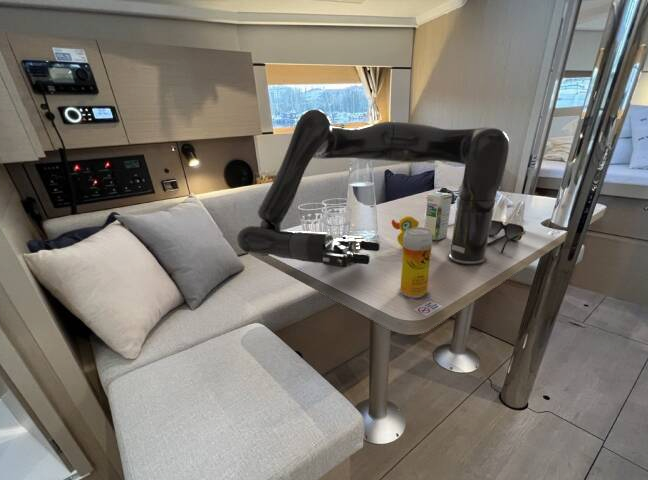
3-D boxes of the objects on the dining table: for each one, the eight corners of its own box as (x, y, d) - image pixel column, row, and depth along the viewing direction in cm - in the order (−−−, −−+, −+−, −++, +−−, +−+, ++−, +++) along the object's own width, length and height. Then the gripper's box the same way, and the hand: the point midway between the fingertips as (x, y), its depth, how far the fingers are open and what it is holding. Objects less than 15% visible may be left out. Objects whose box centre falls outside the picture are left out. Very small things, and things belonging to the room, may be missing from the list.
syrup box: (422, 237, 109) (426, 193, 102) (433, 233, 112) (438, 191, 105) (436, 241, 105) (441, 196, 98) (447, 237, 108) (453, 193, 101)
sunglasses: (458, 243, 102) (460, 228, 100) (482, 232, 111) (485, 218, 108) (501, 253, 93) (505, 237, 90) (524, 241, 101) (528, 225, 99)
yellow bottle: (414, 301, 71) (419, 237, 64) (394, 292, 75) (397, 230, 68) (432, 293, 74) (439, 230, 67) (412, 284, 78) (417, 225, 71)
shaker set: (485, 224, 119) (491, 193, 113) (492, 222, 121) (498, 192, 115) (515, 231, 110) (522, 199, 104) (522, 229, 111) (530, 197, 106)
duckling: (389, 249, 100) (390, 218, 95) (391, 244, 105) (392, 214, 100) (426, 251, 97) (429, 219, 92) (427, 245, 102) (430, 214, 97)
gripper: (297, 241, 71) (365, 247, 66) (321, 224, 83) (382, 228, 77) (300, 272, 75) (365, 280, 70) (323, 251, 87) (381, 256, 81)
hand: (374, 252), depth 74 cm, fingers open, 8 cm apart
